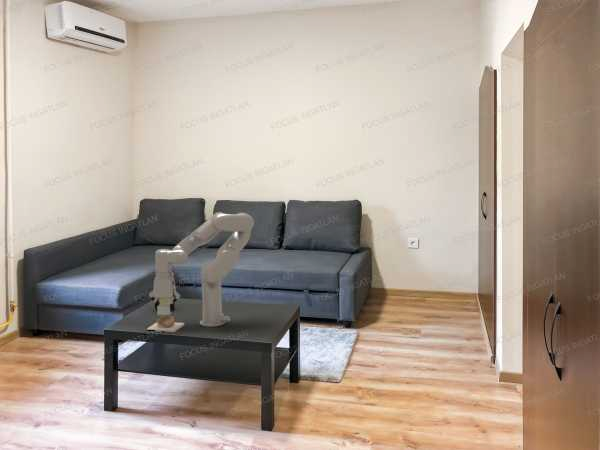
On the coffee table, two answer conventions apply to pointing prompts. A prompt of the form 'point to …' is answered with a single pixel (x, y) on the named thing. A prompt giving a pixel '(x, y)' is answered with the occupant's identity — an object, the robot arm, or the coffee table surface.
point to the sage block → (163, 309)
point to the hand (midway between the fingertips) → (164, 310)
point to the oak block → (165, 321)
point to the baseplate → (171, 329)
